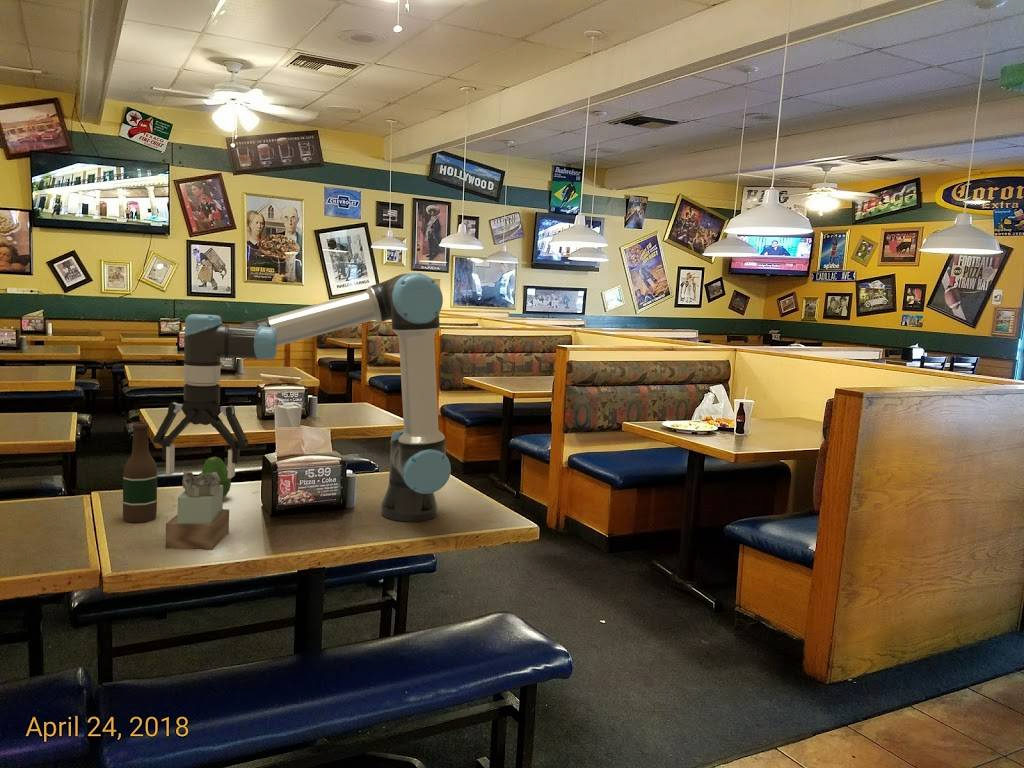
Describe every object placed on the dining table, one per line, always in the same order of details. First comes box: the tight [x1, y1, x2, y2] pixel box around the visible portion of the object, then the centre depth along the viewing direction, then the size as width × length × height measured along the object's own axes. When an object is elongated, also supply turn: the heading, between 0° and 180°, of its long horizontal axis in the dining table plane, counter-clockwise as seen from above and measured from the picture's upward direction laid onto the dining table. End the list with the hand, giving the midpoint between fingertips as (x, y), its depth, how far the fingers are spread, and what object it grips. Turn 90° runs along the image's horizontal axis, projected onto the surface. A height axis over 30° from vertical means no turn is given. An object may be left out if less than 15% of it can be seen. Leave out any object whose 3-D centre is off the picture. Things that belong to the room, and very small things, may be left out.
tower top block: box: [176, 485, 224, 524], centre depth 165 cm, size 7×11×6 cm, turn 9°
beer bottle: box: [122, 421, 158, 524], centre depth 176 cm, size 8×8×24 cm
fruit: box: [201, 456, 232, 499], centre depth 195 cm, size 8×8×12 cm
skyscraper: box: [273, 397, 303, 452], centre depth 203 cm, size 8×8×28 cm
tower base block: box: [165, 508, 230, 551], centre depth 165 cm, size 10×12×6 cm
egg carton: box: [182, 468, 221, 497], centre depth 164 cm, size 11×8×4 cm
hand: (200, 475), depth 164 cm, fingers open, 13 cm apart
